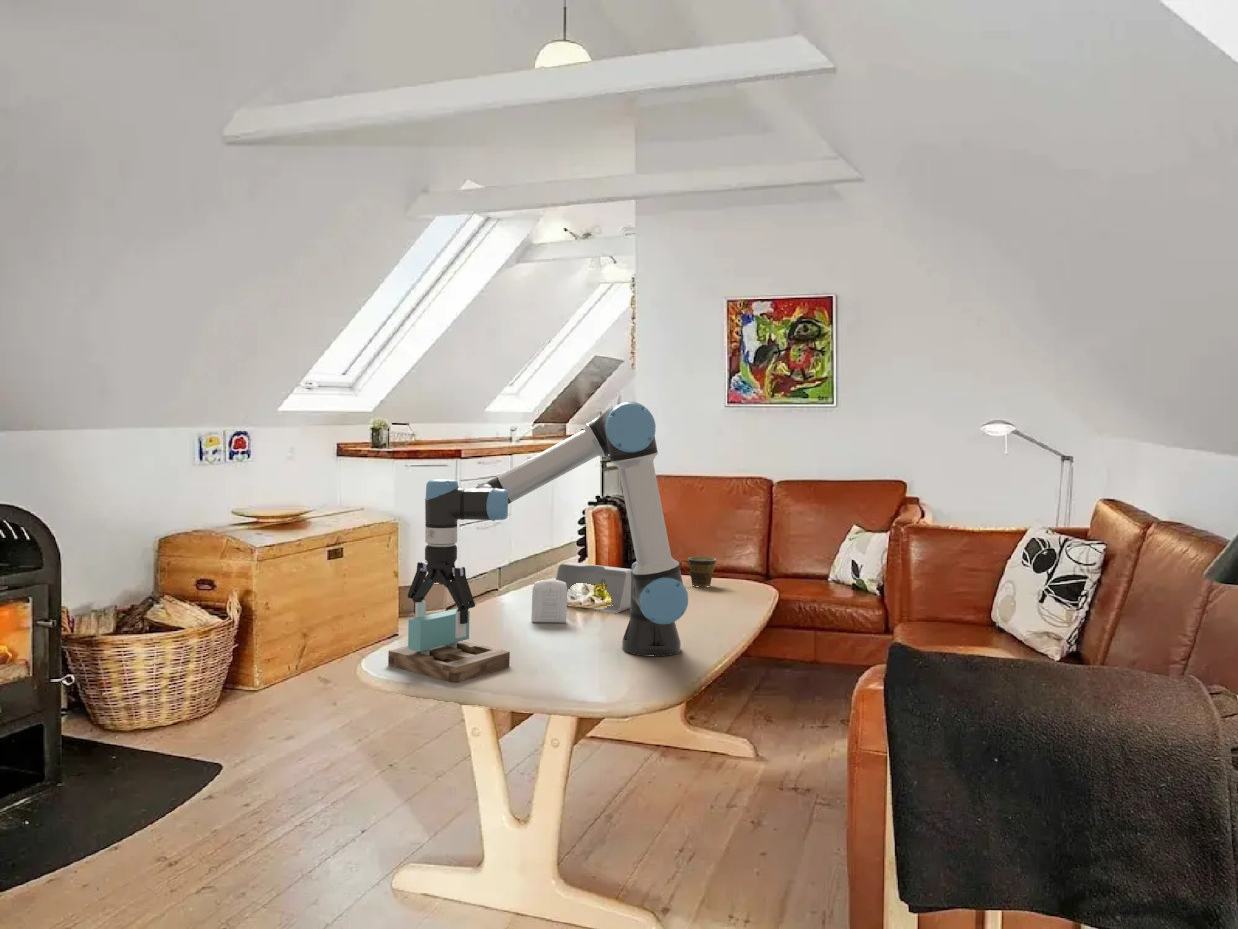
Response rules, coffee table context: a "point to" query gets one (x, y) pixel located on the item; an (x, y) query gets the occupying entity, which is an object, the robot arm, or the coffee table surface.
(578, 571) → the grey storage bin
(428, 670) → the keyhole board
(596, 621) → the coffee table surface
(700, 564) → the ceramic cup
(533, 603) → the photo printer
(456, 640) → the block with headed pegs
